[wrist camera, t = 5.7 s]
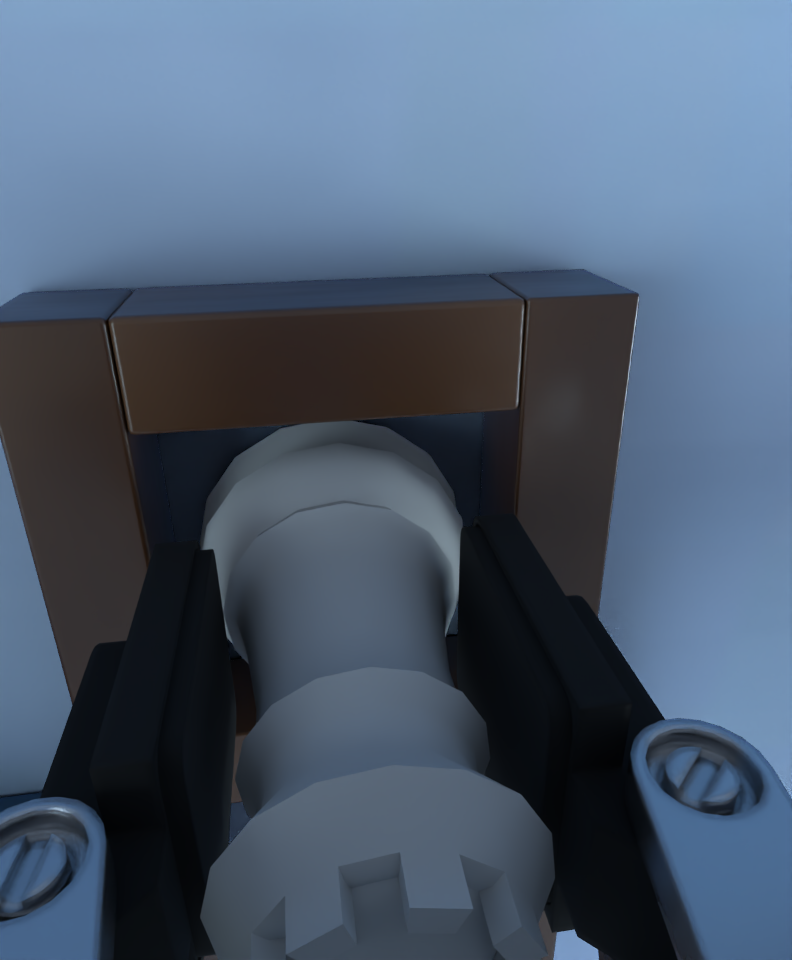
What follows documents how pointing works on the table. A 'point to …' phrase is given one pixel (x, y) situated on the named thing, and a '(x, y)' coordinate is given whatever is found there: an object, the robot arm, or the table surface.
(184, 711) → the robot arm
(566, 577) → the stand
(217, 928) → the rook chess piece
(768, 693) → the table surface
